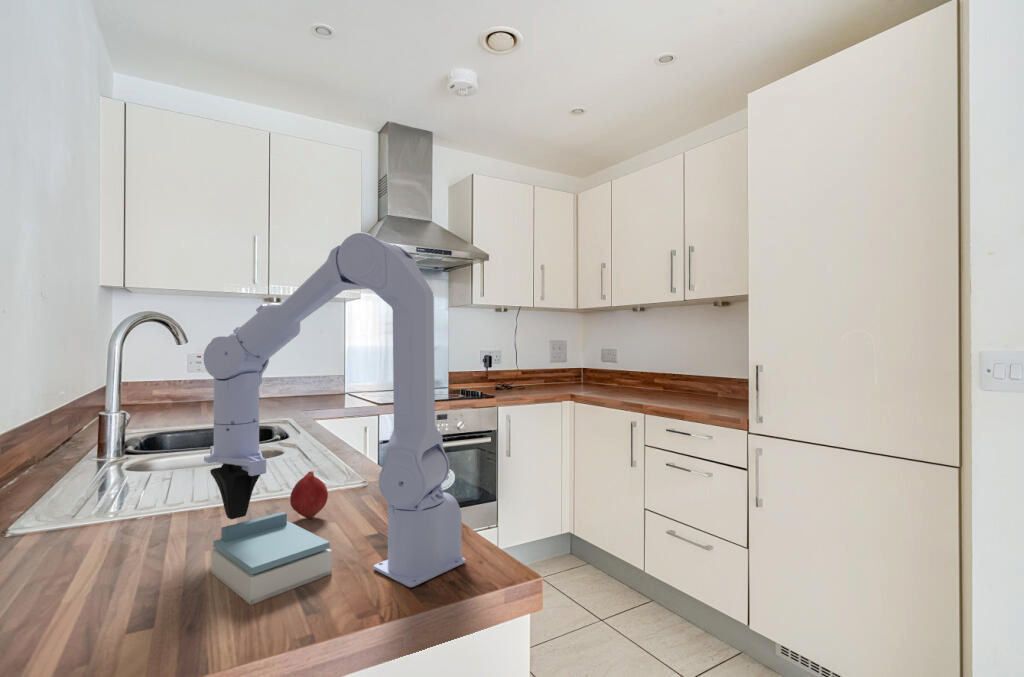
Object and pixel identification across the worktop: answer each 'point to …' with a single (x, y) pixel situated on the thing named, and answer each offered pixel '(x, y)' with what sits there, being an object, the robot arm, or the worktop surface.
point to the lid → (267, 542)
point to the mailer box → (270, 575)
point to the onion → (309, 496)
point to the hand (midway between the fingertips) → (236, 516)
